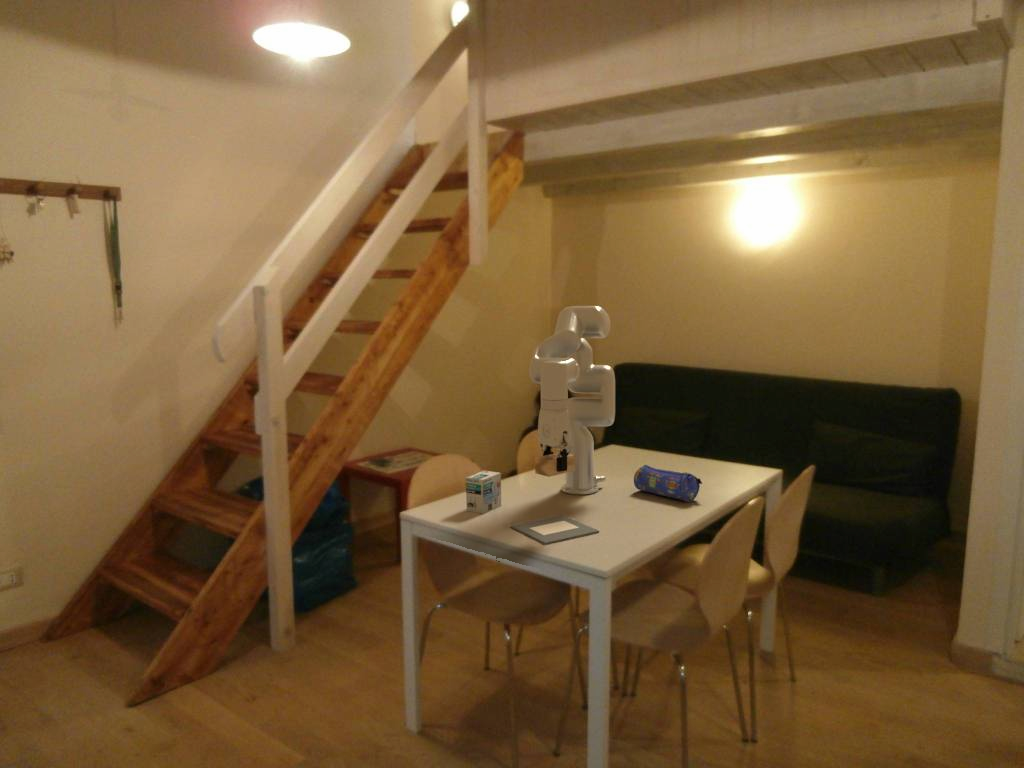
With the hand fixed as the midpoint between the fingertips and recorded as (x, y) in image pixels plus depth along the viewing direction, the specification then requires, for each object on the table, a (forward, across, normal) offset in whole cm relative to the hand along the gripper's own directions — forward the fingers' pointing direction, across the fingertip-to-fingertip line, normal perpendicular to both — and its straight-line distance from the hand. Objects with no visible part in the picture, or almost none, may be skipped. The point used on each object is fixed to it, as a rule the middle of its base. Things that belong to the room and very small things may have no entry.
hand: (555, 468), depth 208 cm
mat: (+18, 0, 0) cm, 18 cm away
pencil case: (+18, -8, +49) cm, 53 cm away
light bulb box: (+18, -30, -6) cm, 36 cm away
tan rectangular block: (+1, 0, 0) cm, 1 cm away
